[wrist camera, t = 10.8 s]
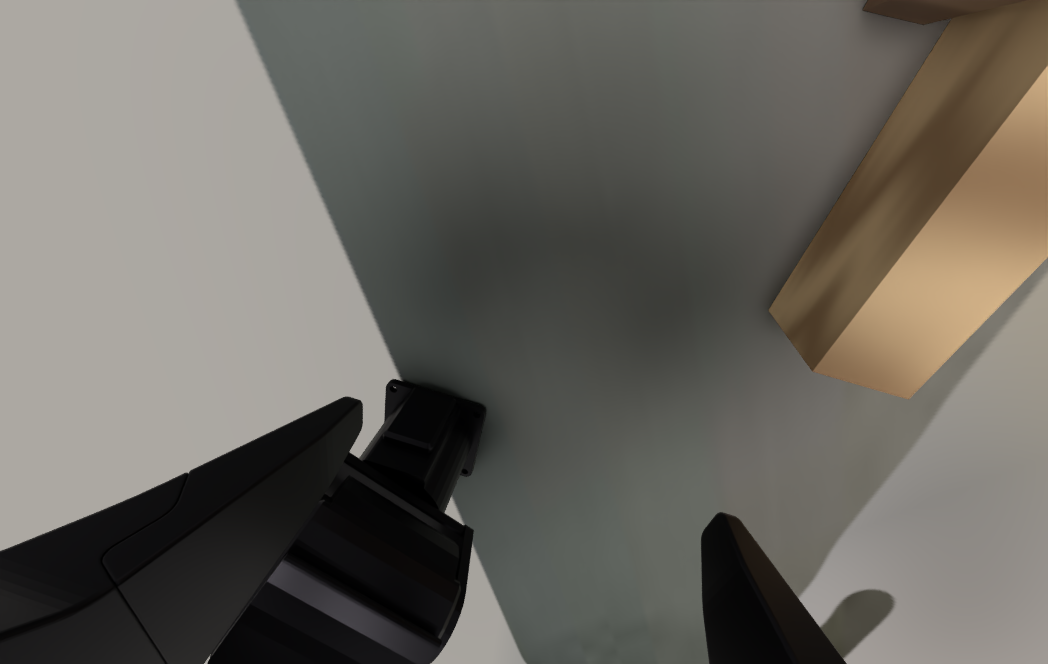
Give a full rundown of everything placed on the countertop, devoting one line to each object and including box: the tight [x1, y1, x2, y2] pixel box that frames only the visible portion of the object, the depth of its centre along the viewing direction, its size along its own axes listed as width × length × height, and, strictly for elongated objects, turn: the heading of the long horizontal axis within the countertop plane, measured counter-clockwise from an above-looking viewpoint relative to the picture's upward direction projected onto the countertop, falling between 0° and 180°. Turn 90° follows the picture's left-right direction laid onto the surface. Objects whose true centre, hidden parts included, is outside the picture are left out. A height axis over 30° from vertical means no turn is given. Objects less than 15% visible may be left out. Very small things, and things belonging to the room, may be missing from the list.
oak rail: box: [768, 0, 1048, 399], centre depth 13 cm, size 14×4×5 cm, turn 168°
